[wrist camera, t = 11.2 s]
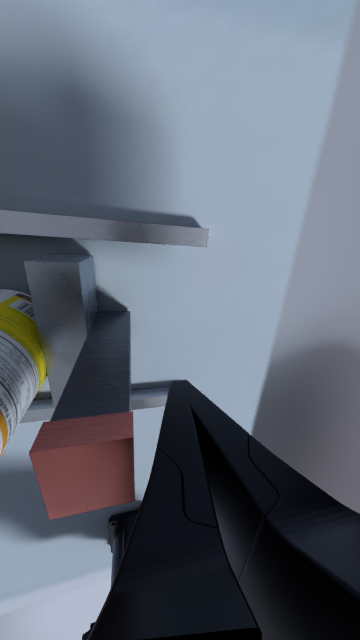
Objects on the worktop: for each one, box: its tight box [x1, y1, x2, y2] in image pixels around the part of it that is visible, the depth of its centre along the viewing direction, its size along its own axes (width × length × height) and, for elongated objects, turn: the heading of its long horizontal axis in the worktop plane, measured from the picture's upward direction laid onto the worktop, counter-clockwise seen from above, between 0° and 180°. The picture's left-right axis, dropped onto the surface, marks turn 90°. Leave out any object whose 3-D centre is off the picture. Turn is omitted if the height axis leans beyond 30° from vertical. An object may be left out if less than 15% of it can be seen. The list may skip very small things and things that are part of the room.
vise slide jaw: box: [23, 254, 135, 520], centre depth 9 cm, size 9×4×9 cm, turn 176°
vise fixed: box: [0, 210, 209, 423], centre depth 11 cm, size 13×19×4 cm
